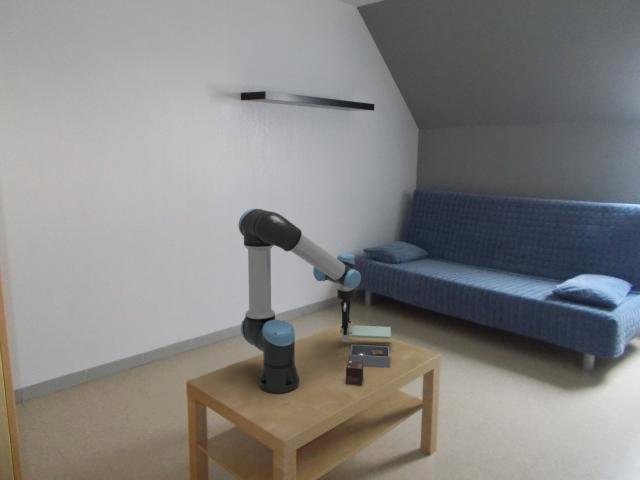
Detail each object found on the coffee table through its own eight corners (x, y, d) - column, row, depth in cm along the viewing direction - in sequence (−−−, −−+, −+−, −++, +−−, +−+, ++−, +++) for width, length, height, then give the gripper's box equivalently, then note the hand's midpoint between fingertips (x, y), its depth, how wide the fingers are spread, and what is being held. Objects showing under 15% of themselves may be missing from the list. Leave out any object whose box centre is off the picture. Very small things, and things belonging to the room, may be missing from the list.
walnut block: (373, 363, 202) (373, 354, 202) (371, 359, 206) (371, 350, 206) (382, 362, 203) (383, 353, 202) (380, 358, 207) (380, 349, 206)
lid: (339, 336, 215) (339, 328, 214) (341, 327, 226) (341, 319, 225) (390, 338, 212) (390, 331, 211) (390, 329, 223) (390, 321, 222)
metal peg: (356, 362, 203) (356, 354, 203) (358, 359, 206) (358, 351, 206) (363, 363, 202) (364, 355, 202) (365, 360, 205) (366, 352, 205)
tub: (349, 366, 201) (349, 355, 200) (351, 355, 211) (351, 344, 211) (389, 368, 199) (389, 357, 198) (389, 357, 209) (389, 346, 208)
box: (361, 387, 184) (361, 368, 182) (345, 385, 185) (345, 367, 184) (363, 379, 190) (363, 361, 188) (347, 378, 191) (348, 360, 189)
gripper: (353, 294, 207) (352, 347, 212) (355, 283, 224) (355, 332, 228) (335, 294, 208) (335, 346, 213) (339, 283, 225) (339, 331, 229)
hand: (345, 339), depth 221 cm, fingers closed on lid, 4 cm apart
